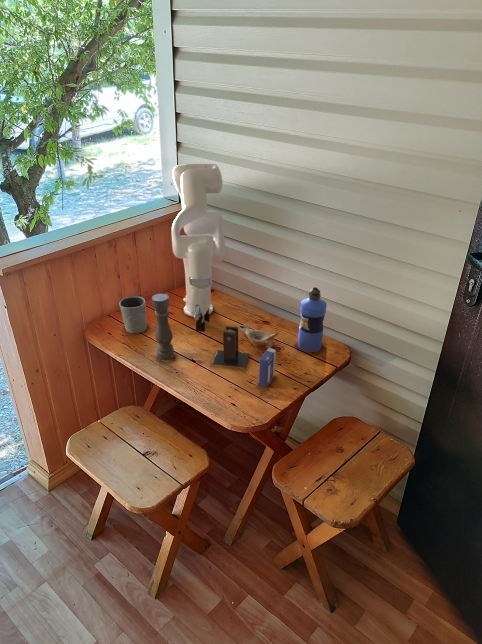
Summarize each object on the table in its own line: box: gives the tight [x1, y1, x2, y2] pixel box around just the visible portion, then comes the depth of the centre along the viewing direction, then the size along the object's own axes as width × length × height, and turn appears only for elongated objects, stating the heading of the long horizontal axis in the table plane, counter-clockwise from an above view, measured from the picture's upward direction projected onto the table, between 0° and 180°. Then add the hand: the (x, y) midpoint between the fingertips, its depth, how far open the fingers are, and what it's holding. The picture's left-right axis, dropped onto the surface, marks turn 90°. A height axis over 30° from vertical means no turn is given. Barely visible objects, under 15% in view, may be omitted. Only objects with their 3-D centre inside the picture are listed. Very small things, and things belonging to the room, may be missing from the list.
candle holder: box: [151, 293, 175, 363], centre depth 169 cm, size 6×6×25 cm
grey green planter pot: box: [118, 295, 148, 334], centre depth 191 cm, size 10×10×12 cm
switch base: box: [212, 325, 250, 368], centre depth 171 cm, size 12×9×13 cm
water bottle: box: [297, 287, 328, 353], centre depth 176 cm, size 9×9×25 cm
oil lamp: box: [238, 324, 280, 349], centre depth 183 cm, size 9×21×10 cm, turn 40°
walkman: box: [258, 347, 277, 388], centre depth 161 cm, size 8×3×12 cm, turn 155°
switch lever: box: [204, 317, 236, 334], centre depth 168 cm, size 13×5×2 cm, turn 80°
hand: (202, 326), depth 169 cm, fingers closed on switch lever, 5 cm apart
